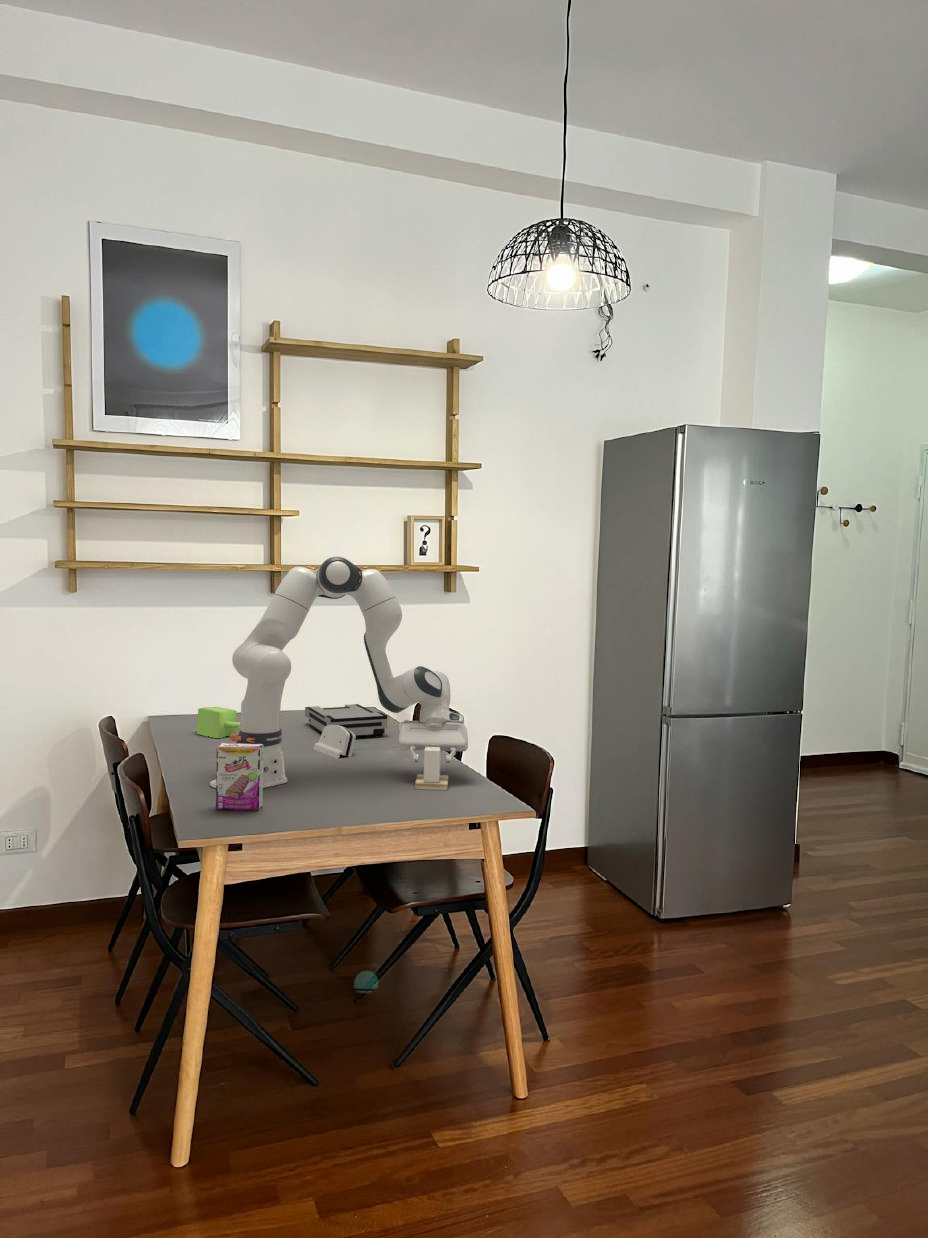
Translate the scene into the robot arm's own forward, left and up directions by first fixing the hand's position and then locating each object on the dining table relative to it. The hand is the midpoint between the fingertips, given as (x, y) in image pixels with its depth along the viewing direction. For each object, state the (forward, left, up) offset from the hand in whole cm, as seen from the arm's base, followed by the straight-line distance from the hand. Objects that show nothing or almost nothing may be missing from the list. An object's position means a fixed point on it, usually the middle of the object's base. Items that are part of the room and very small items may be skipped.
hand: (432, 761), depth 265 cm
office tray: (+50, +65, -7) cm, 82 cm away
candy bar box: (-46, +30, -7) cm, 56 cm away
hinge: (+19, +47, -7) cm, 51 cm away
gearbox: (+19, +96, -7) cm, 99 cm away
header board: (+1, 0, -7) cm, 7 cm away
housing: (+1, 0, -5) cm, 5 cm away
